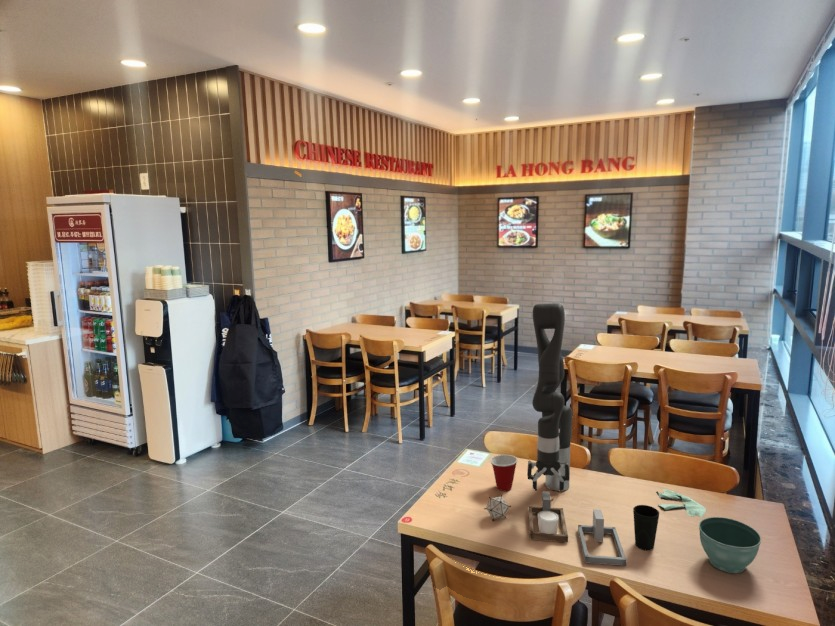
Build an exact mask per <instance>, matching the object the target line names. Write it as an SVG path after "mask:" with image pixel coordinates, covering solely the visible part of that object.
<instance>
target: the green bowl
mask: <svg viewBox="0 0 835 626" xmlns="http://www.w3.org/2000/svg"><path fill="white" fill-rule="evenodd" d="M698 529H699V539H700V543H701V546H702V549H703V550H704V552H705V554H706V556H707V557H708V559H709V560H708V561H709V563H710V564H711V565H712V566H713V567H715V568H716V569H718V570H720V571H722V572H726V573H730V574H741V573H743V572H744V571H745V569H746V568H747V567H748V566H749V565H750V564H752V563H753V562H754V560H755V559H756V557H757V555H758V552H759V549H760V545H761V542H762V537H761V535H760V533H759V532H758V531H757V530H756V529H755V528H754V527H752V526H750V525H748V524H746V523H744V522H741V521H739V520H736V519H734V518H728V517H724V516H723V517H722V516H711V517H706V518H703V519H702V520H700V521H699V524H698Z"/></svg>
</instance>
